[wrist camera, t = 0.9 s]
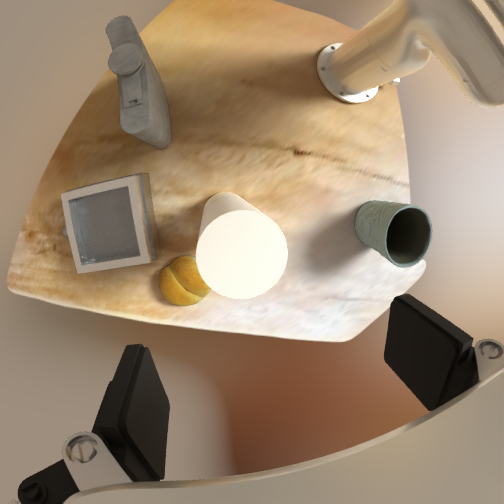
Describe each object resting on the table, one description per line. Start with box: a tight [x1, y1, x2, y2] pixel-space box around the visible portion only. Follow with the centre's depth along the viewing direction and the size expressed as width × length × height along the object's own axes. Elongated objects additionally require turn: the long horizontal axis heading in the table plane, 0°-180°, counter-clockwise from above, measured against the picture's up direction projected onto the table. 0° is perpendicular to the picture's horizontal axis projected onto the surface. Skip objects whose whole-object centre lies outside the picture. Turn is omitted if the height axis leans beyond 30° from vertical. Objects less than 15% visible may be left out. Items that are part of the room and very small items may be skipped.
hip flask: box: [106, 16, 172, 149], centre depth 30 cm, size 16×4×20 cm, turn 14°
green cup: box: [355, 200, 432, 268], centre depth 44 cm, size 10×10×12 cm
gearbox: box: [61, 173, 161, 274], centre depth 39 cm, size 16×13×8 cm
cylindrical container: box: [196, 192, 288, 299], centre depth 34 cm, size 7×7×25 cm
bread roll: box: [159, 256, 211, 306], centre depth 46 cm, size 8×9×4 cm
